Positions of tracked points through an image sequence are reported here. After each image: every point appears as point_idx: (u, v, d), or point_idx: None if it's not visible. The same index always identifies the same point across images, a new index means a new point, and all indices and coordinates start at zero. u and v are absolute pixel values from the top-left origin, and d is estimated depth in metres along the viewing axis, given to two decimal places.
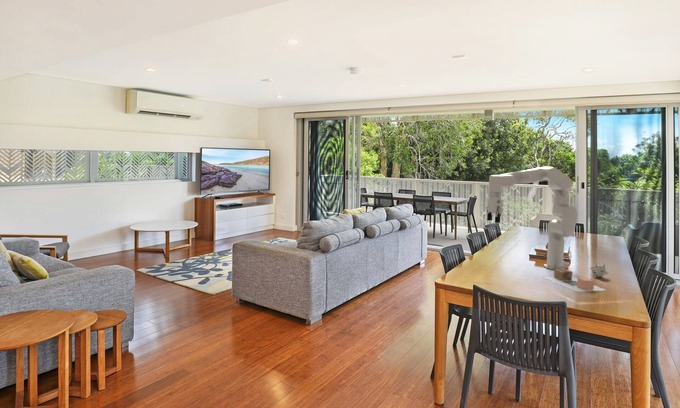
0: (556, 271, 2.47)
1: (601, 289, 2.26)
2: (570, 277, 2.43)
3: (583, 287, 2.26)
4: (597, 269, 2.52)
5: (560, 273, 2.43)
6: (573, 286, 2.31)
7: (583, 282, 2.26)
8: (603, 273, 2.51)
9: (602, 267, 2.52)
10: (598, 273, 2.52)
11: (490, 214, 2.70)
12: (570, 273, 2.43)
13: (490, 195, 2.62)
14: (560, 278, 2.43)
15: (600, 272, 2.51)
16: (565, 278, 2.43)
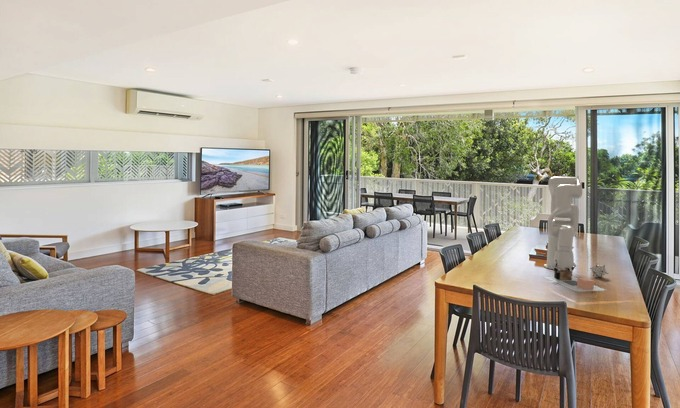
0: None
1: (601, 289, 2.26)
2: (570, 277, 2.43)
3: (583, 287, 2.26)
4: (597, 269, 2.52)
5: (560, 273, 2.43)
6: (573, 286, 2.31)
7: (583, 282, 2.26)
8: (603, 273, 2.51)
9: (602, 267, 2.52)
10: (598, 273, 2.52)
11: None
12: (570, 273, 2.43)
13: (570, 250, 2.41)
14: (560, 278, 2.43)
15: (600, 272, 2.51)
16: (565, 278, 2.43)
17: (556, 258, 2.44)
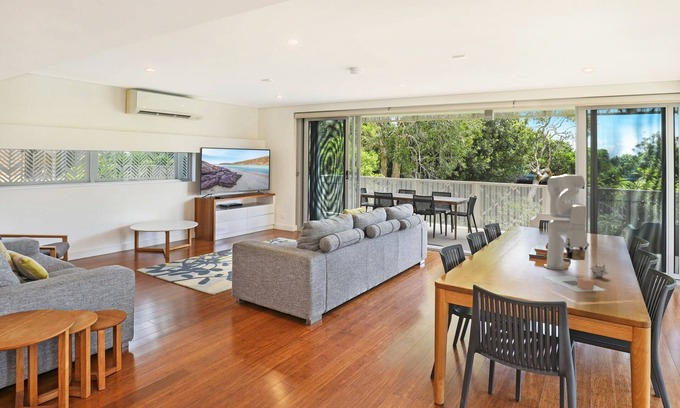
0: None
1: (601, 289, 2.26)
2: (583, 257, 2.33)
3: (583, 287, 2.26)
4: (597, 269, 2.52)
5: (573, 252, 2.33)
6: (573, 286, 2.31)
7: (583, 282, 2.26)
8: (603, 273, 2.51)
9: (602, 267, 2.52)
10: (598, 273, 2.52)
11: None
12: (583, 252, 2.33)
13: (583, 228, 2.31)
14: (573, 258, 2.33)
15: (600, 272, 2.51)
16: (578, 257, 2.32)
17: (568, 237, 2.34)
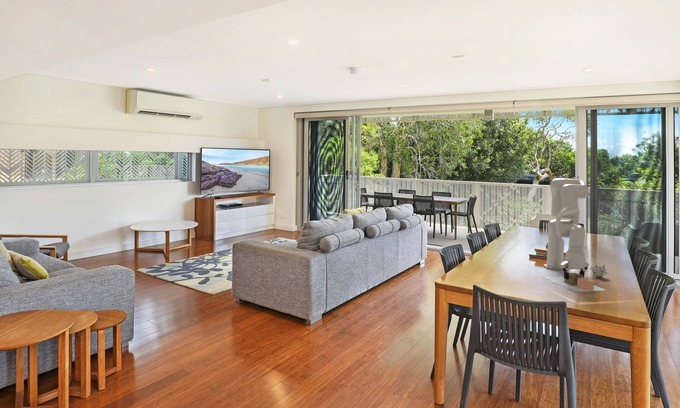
0: None
1: (601, 289, 2.26)
2: None
3: (583, 287, 2.26)
4: (597, 269, 2.52)
5: (571, 277, 2.35)
6: (573, 286, 2.31)
7: (583, 282, 2.26)
8: (603, 273, 2.51)
9: (602, 267, 2.52)
10: (598, 273, 2.52)
11: None
12: (581, 277, 2.34)
13: (582, 250, 2.32)
14: (571, 282, 2.35)
15: (600, 272, 2.51)
16: (576, 282, 2.34)
17: (567, 259, 2.35)
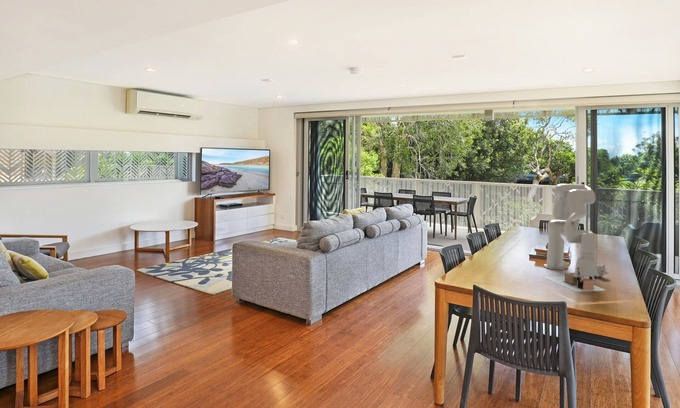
0: (566, 275, 2.38)
1: (601, 289, 2.26)
2: None
3: (583, 287, 2.26)
4: (597, 269, 2.52)
5: (571, 277, 2.35)
6: (573, 286, 2.31)
7: (583, 282, 2.26)
8: (603, 273, 2.51)
9: (602, 267, 2.52)
10: None
11: None
12: None
13: (594, 257, 2.23)
14: (571, 282, 2.35)
15: (600, 272, 2.51)
16: (576, 282, 2.34)
17: (578, 266, 2.26)
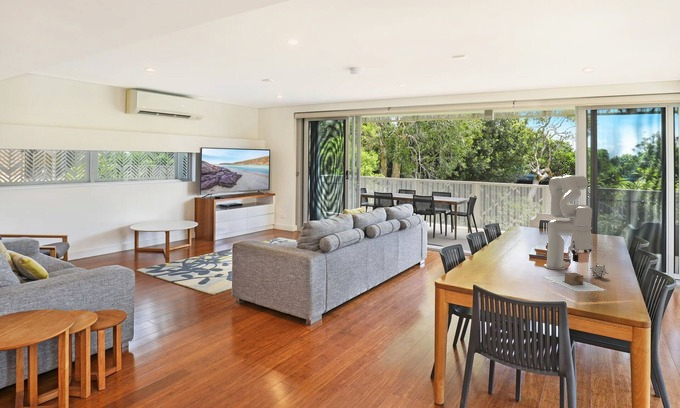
0: (566, 275, 2.38)
1: (601, 289, 2.26)
2: (581, 281, 2.34)
3: (578, 260, 2.30)
4: (597, 269, 2.52)
5: (571, 277, 2.35)
6: (573, 286, 2.31)
7: (578, 255, 2.29)
8: (603, 273, 2.51)
9: (602, 267, 2.52)
10: (598, 273, 2.52)
11: None
12: (581, 277, 2.34)
13: (589, 230, 2.27)
14: (571, 282, 2.35)
15: (600, 272, 2.51)
16: (576, 282, 2.34)
17: (573, 239, 2.30)
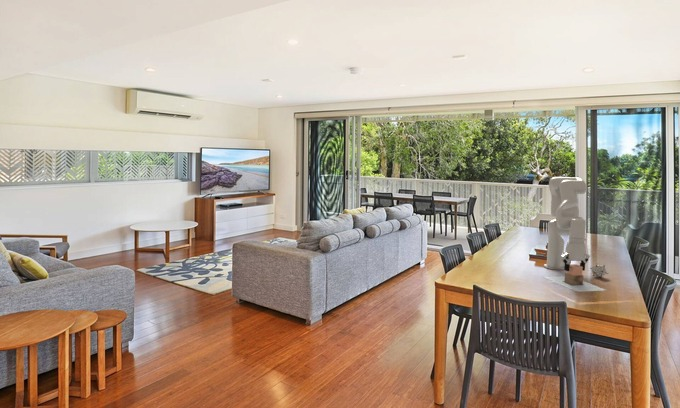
0: (566, 275, 2.38)
1: (601, 289, 2.26)
2: (581, 281, 2.34)
3: (572, 273, 2.34)
4: (597, 269, 2.52)
5: (571, 277, 2.35)
6: (573, 286, 2.31)
7: (572, 269, 2.34)
8: (603, 273, 2.51)
9: (602, 267, 2.52)
10: (598, 273, 2.52)
11: None
12: (581, 277, 2.34)
13: (582, 242, 2.32)
14: (571, 282, 2.35)
15: (600, 272, 2.51)
16: (576, 282, 2.34)
17: (567, 250, 2.35)
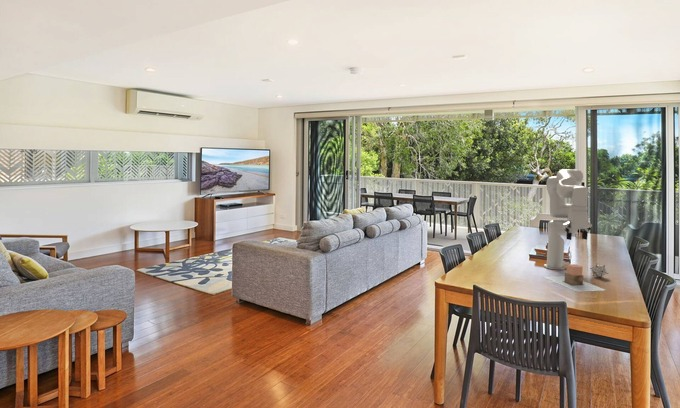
0: (566, 275, 2.38)
1: (601, 289, 2.26)
2: (581, 281, 2.34)
3: (572, 273, 2.34)
4: (597, 269, 2.52)
5: (571, 277, 2.35)
6: (573, 286, 2.31)
7: (572, 269, 2.34)
8: (603, 273, 2.51)
9: (602, 267, 2.52)
10: (598, 273, 2.52)
11: None
12: (581, 277, 2.34)
13: (585, 210, 2.30)
14: (571, 282, 2.35)
15: (600, 272, 2.51)
16: (576, 282, 2.34)
17: (570, 219, 2.33)
